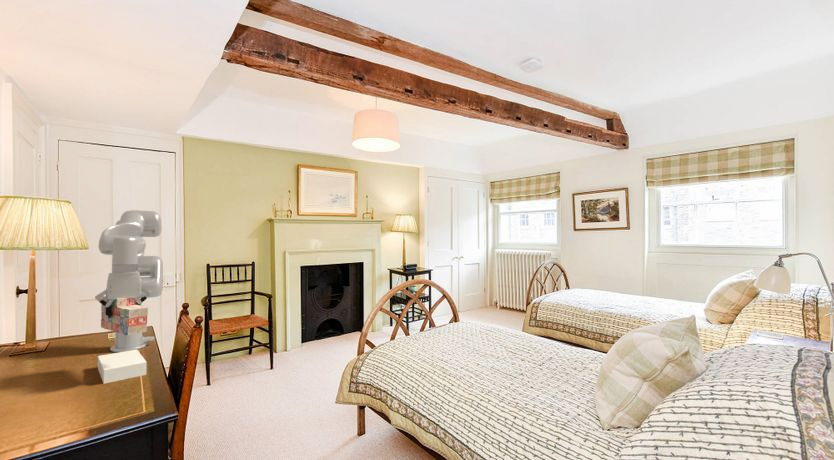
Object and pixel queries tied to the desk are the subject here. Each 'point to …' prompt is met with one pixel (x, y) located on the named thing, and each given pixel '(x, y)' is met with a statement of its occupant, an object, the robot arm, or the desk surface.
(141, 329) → the stack of blocks
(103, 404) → the desk surface
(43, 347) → the desk surface
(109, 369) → the block
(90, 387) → the desk surface
